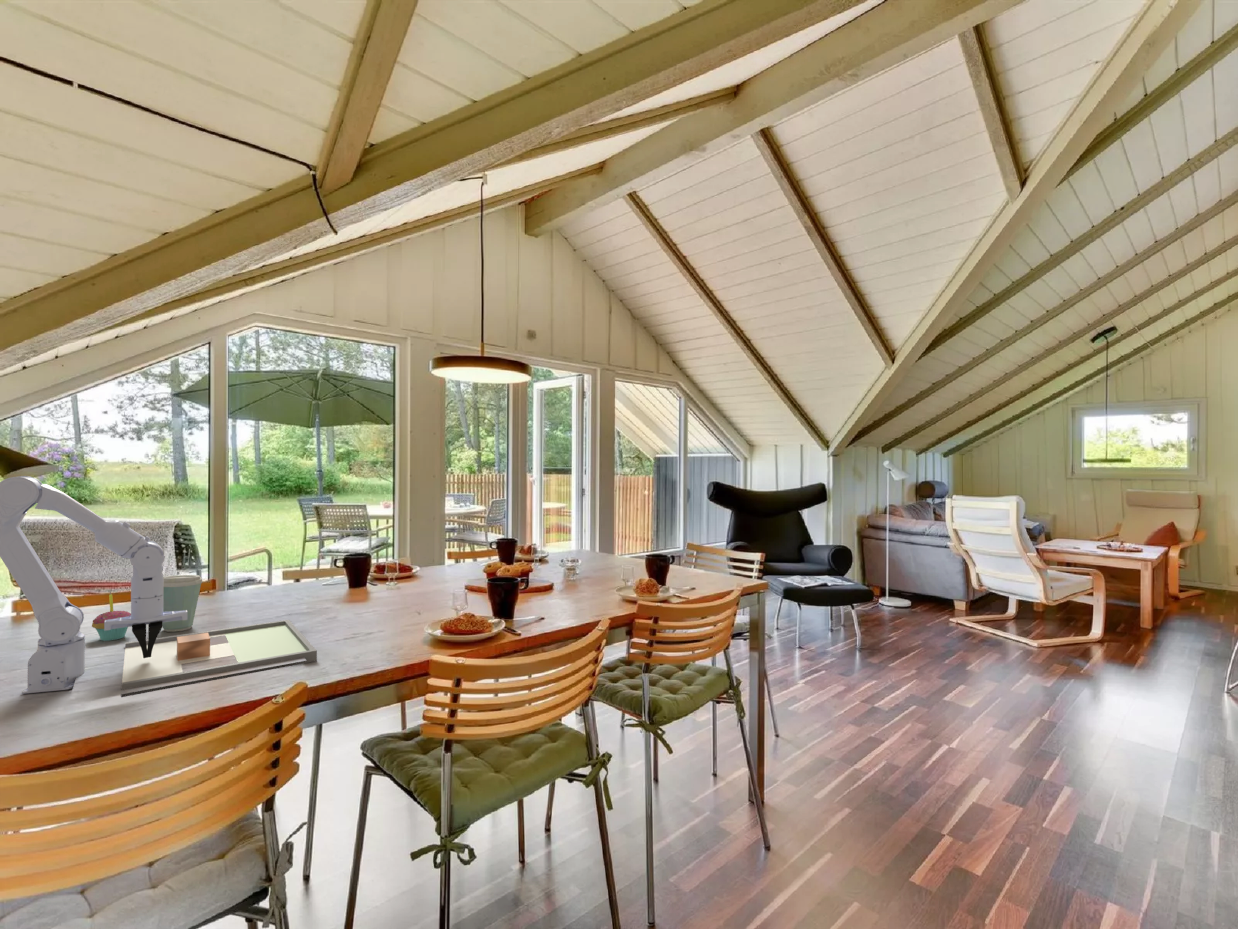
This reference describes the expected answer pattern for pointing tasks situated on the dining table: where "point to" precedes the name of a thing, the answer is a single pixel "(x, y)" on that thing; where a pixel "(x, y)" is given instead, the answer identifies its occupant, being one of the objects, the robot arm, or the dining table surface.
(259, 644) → the sectioned serving tray
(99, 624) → the cupcake
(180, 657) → the block
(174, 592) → the disposable coffee cup
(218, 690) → the dining table surface
